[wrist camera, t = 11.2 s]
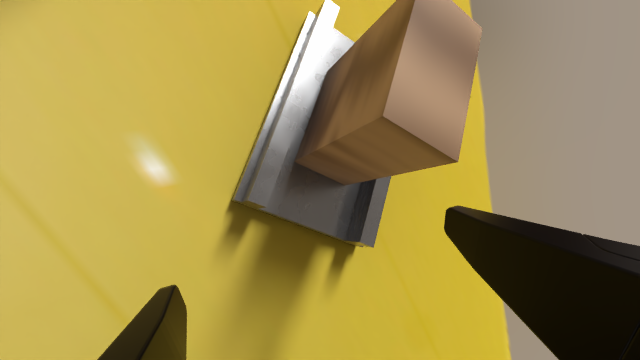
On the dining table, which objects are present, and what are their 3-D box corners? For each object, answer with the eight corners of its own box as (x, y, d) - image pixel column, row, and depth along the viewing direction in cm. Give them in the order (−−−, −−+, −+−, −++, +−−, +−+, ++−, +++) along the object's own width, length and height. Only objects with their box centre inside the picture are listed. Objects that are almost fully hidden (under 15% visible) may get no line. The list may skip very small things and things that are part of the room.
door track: (355, 246, 23) (378, 249, 20) (231, 200, 19) (239, 197, 16) (398, 82, 27) (422, 67, 24) (304, 19, 23) (320, -7, 21)
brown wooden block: (345, 185, 22) (458, 161, 13) (294, 161, 20) (382, 115, 11) (371, 99, 24) (482, 28, 15) (326, 71, 22) (422, -27, 14)
